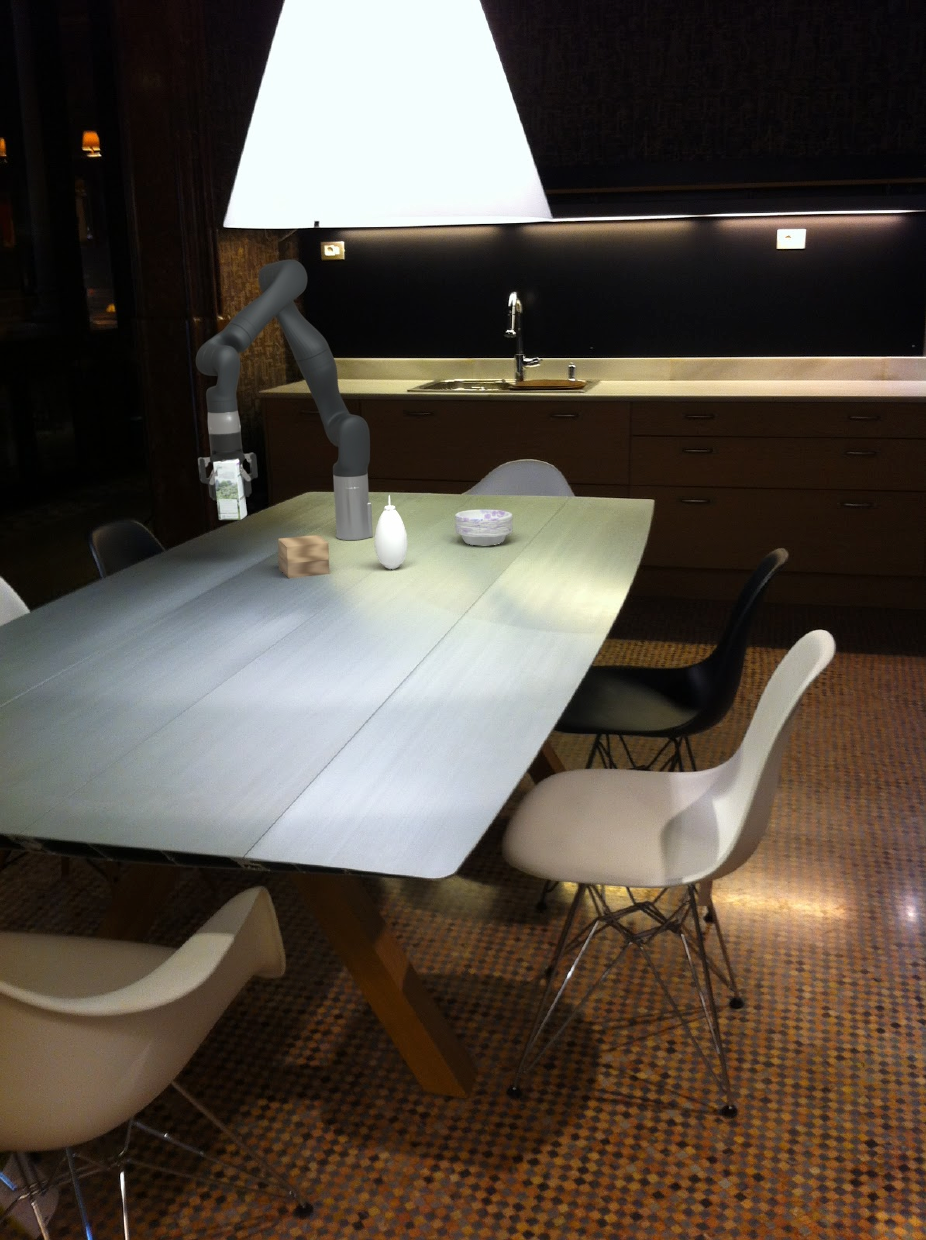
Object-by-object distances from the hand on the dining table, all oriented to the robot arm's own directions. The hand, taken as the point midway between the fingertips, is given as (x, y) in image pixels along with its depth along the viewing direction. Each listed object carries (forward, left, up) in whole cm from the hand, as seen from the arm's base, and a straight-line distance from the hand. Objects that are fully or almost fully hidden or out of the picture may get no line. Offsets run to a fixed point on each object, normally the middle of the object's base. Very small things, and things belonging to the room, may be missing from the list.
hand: (230, 497), depth 283 cm
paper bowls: (-65, +5, -17) cm, 67 cm away
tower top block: (-14, +14, -13) cm, 24 cm away
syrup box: (0, 0, -5) cm, 5 cm away
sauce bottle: (-34, +21, -17) cm, 43 cm away
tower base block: (-14, +14, -17) cm, 26 cm away
